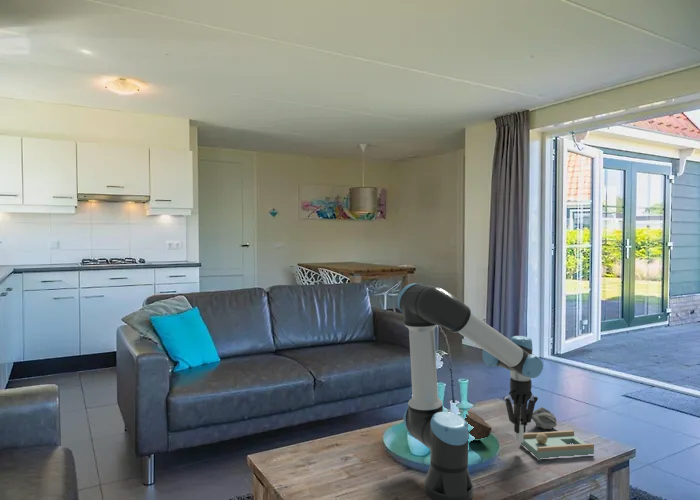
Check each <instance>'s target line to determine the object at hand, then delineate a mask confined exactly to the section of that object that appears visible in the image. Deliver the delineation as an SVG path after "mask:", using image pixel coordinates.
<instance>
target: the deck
mask: <svg viewBox="0 0 700 500" xmlns="http://www.w3.org/2000/svg"><path fill="white" fill-rule="evenodd" d="M539 433H544V434H545V435H546V436H547V438H548V440H547V442H546V443H545V444H540V443H538V442H537V440H536V436H537V434H539ZM570 443H571V444H572V443H573V444H574V445H567V444H570ZM521 444H522V445H523V446H525V447H526V448H527V449H528V450H529V451H530V452H532V453H533V454H534V455H535V456H536V457H537V458H538V459H540V458H549V457H559V456H574V455H588V454H594V455H595V444H594V443H593V442H591V443H587V442H585V441H584V440H582V439H581V438H579V437H577V436H576V435H575V431H574V430H560V431H559V430H558V431H556V430H555V431H543V432H542V431H541V432H528V433H527V432H525V433H524V437H523V443H521Z"/></svg>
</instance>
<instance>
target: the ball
mask: <svg viewBox="0 0 700 500" xmlns="http://www.w3.org/2000/svg"><path fill="white" fill-rule="evenodd" d="M538 433H539V432H538ZM536 440H537V442H538V443H540V444H545V443H546V442H547V440H548V438H547V436H546V435H545V434H544V433H539V434H537V436H536Z"/></svg>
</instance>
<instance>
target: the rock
mask: <svg viewBox="0 0 700 500" xmlns="http://www.w3.org/2000/svg"><path fill="white" fill-rule="evenodd" d="M467 412H468V414H469V415H467V414H466V417H467V418H465V419H464V420H465V421H466V422H468V424H470V425H471V426H473V427H474V428H473V429H472V430H471V431H470V432H469V433H470V434H471V435H472V436H474V437H475V439H481V438H485V437H487V438H488V437H490V434H491V432H492V430H493V429H492V427H491V425H490V424H489V423H488V422H487V421H485V420H484V419H483V418H482V417H481V416H480V415H478V414H477V413H475V412H472V411H467Z"/></svg>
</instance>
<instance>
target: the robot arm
mask: <svg viewBox="0 0 700 500" xmlns="http://www.w3.org/2000/svg"><path fill="white" fill-rule="evenodd" d="M397 307H398V309H399V311H400V313H401V314H402V315H403V325H404V326H405V327H406V328H407V329H408V337H409V338H408V339H409V353H410V355H409V356H410V375H411V376H410V377H411V393H412V395H411V396H412V397H411V398H410V399H409V400H408V403H407V404H408V406H407V407H406V410H405V411H404V414H403V425H404V427H405V429H406V430H407V432H408V433H409V434H410V435H411V436H412V437H413V438H414V439H416V440H417V441H418V442H420V443H421V444H423V445H424V446H425V447H427V449H429V451H430V454H429V455H430V462H429V463H430V465H429V468H428V470H427V474H426V477H425V478H424V479H425V480H424V493H425V494H426V495H427V496H428V497H429V498H430V499H432V500H471V499H473V496H474V485H473V482H472V479H471V476H470V472H469V467H468V465H469V441H468V439H469V431H468V424H467V422H466V421H465V420H464V419H463V417H462V416H461V415H459V414H457V413H452V412H449V411H444V407H443V406H444V405H443V401H442V400H441V399H440V398H439V394H438V393H439V392H438V374H437V373H438V372H437V357H436V356H437V355H436V354H437V352H436V331H435V330H436V327H438V326H440V327H441V328H445V329H447V330H448V331H449V332H451V333H453V334H456V333H459V335H461V336H463V337H464V338H465V339H467V340H469V341H470V342H471V343H473V344H475V346H478V347H480V349H482V360H483V363H484V364H485V365H486V366H487V367H489V368H490V367H491V368H493V367H494V368H496V367H501V368H503V369H505V370H509V372H510V373H509V375H510V381H509V382H510V383H509V389H510V390H509V392H508V395H507V396H503V398H502V399H503V401H504V403H505V407H506V411H507V416H508V420H509V422H510V423H512V424H513V425H514V426H513V429H514V433H515V440H516V441H517V442H518V443H519V444H520V443H523V437H524V433H526V428H527V427H526V426H527V425H528V423H531V422H532V420H533V419H532V415H533V412H534V411H535V405H536V403H537V401H538V400H539V398H538V396H536V395H534V394H533V392H532V387H533V386H532V383H533V382H532V379H535V378H538V377H539V376H541V374H542V372H543V369H544V368H543V367H544V363H543V362H544V361H542V359H541V358H540V357H539V356H537V355H535V354H533V351H534V348H533V341H532V338H531V337H528V336H525V335H514V336H511V337H510V339H509V338H508V337H506V336H505V335H503V334H502V333H500V331H499V330H496V329H495V328H493V327H492V326H490V325H489V324H488V323H487V322H485V321H484V320H482V319H481V318H480V317H478V316H477V315H475V314H474V313H472V309H471V307H469V306H468V305H467V304H465V302H463V301H462V300H460V299H458V298H457V297H456V296H455V295H453V294H451V293H450V292H449V291H447V290H446V289H444V288H441V287H440V286H439V287H438V286H433V285H429V284H424V283H421V282H420V283H409V284H407V285H405V286H404V287H403V288H402V289H401V290H400V292H399V294H398V296H397ZM512 401H513V405H512Z"/></svg>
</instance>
